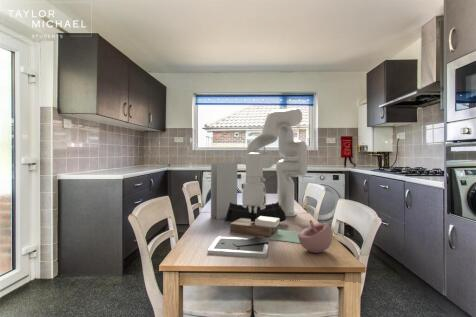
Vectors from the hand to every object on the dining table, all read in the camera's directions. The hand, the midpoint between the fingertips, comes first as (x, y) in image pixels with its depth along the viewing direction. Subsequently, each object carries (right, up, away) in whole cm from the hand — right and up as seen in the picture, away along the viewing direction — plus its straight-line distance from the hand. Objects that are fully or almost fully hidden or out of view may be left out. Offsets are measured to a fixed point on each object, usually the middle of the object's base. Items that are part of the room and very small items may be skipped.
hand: (253, 221), depth 126 cm
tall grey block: (-15, -4, +29) cm, 32 cm away
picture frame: (-6, -6, -21) cm, 23 cm away
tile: (+6, -1, -2) cm, 6 cm away
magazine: (+2, -5, +15) cm, 16 cm away
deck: (0, -5, 0) cm, 5 cm away
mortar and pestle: (+21, -6, -24) cm, 33 cm away
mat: (+15, -5, -6) cm, 17 cm away
